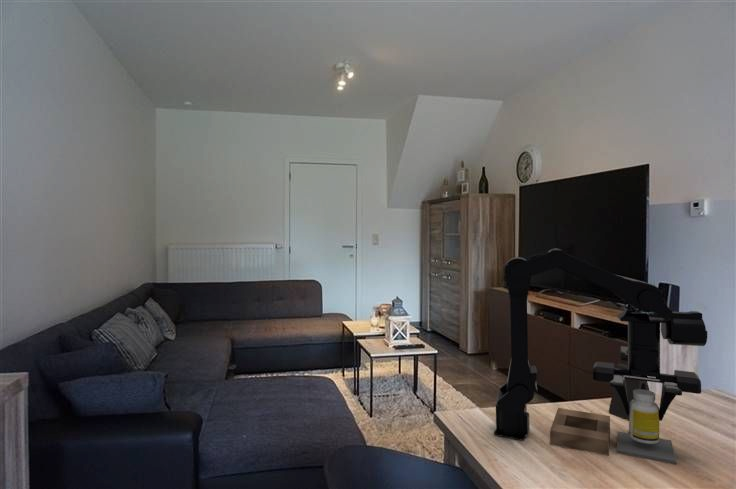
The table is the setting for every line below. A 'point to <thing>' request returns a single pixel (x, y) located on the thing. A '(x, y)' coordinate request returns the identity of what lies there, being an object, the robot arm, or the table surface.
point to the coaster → (646, 448)
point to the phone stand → (631, 385)
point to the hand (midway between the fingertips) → (643, 417)
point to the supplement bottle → (644, 417)
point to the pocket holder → (581, 431)
